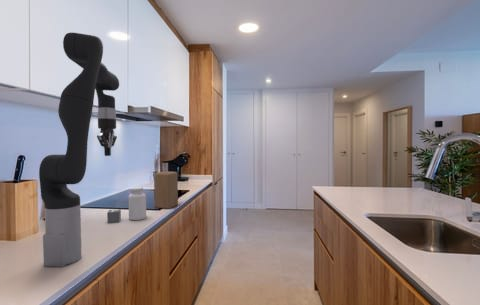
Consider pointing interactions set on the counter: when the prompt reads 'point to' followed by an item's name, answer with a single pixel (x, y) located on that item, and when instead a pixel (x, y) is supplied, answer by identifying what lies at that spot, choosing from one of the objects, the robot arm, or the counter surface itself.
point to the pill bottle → (137, 204)
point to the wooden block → (166, 189)
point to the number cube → (114, 216)
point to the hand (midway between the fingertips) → (107, 155)
